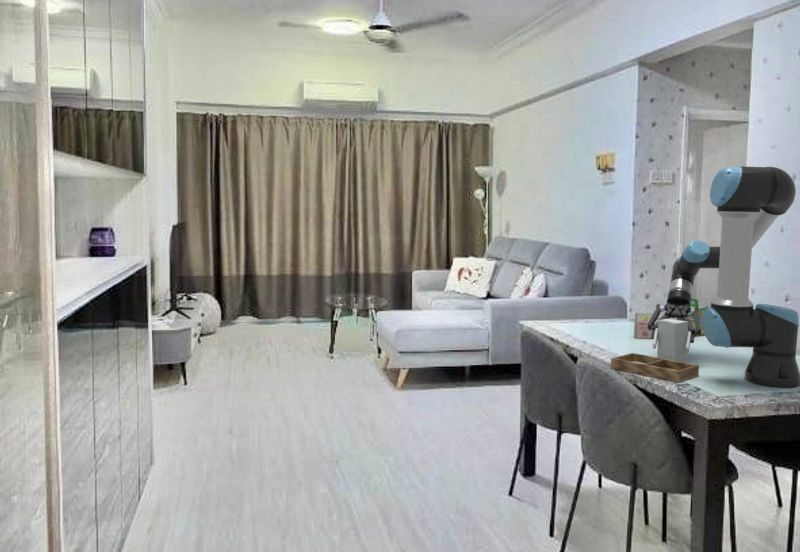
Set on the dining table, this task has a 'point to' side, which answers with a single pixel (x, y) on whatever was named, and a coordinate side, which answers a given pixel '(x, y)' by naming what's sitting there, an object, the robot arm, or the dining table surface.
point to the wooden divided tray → (655, 367)
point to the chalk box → (701, 312)
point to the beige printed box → (642, 326)
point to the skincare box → (672, 340)
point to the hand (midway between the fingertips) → (670, 348)
